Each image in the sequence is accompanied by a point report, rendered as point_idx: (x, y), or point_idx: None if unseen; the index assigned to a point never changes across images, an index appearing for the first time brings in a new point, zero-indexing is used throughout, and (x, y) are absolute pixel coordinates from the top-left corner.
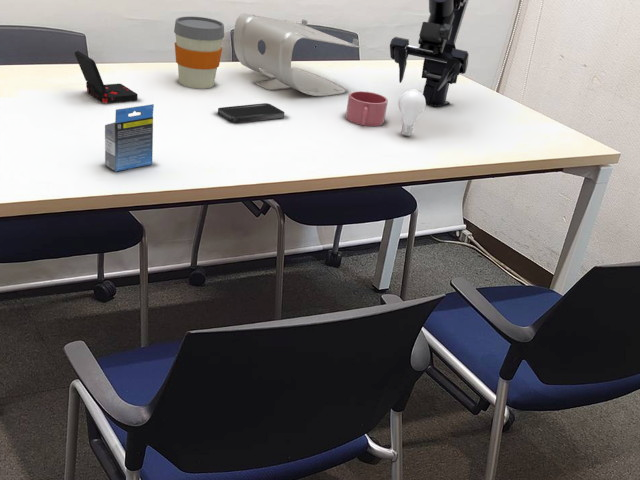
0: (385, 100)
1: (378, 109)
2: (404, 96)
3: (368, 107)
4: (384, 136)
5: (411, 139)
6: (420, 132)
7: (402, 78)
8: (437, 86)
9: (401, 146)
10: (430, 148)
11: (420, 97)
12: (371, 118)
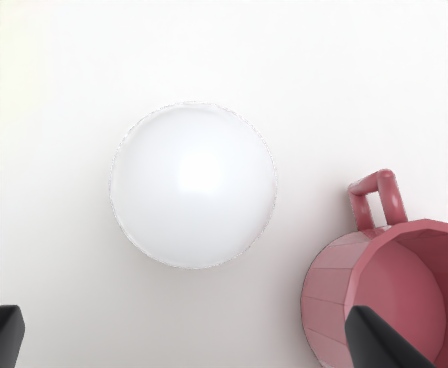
0: None
1: (348, 253)
2: (247, 122)
3: (389, 225)
4: None
5: None
6: (137, 304)
7: (360, 364)
8: (8, 316)
9: (178, 92)
10: (73, 131)
11: (142, 126)
12: (346, 238)
